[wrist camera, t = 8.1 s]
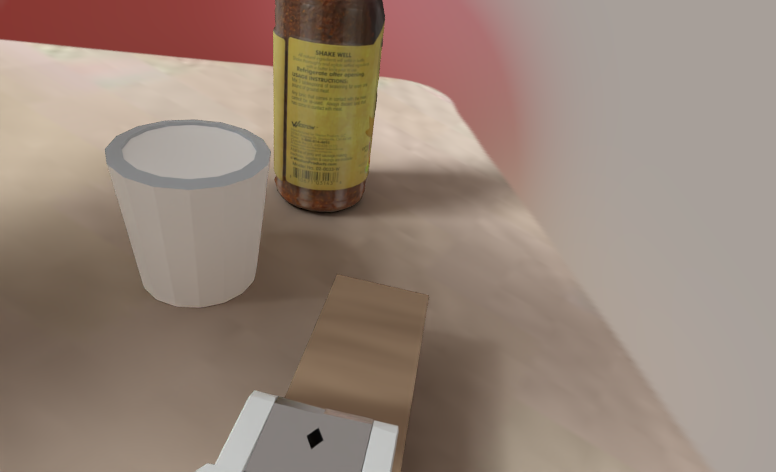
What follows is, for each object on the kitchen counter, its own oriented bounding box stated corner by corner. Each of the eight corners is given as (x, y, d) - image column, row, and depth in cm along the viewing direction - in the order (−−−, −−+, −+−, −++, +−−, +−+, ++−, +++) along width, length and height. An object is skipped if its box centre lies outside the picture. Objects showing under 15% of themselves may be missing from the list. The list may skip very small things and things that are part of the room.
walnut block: (373, 638, 11) (429, 295, 21) (202, 591, 11) (337, 274, 21) (353, 692, 13) (412, 359, 23) (210, 652, 14) (329, 339, 24)
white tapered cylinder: (235, 221, 30) (232, 110, 26) (292, 288, 26) (299, 168, 22) (110, 252, 26) (84, 127, 22) (154, 337, 22) (133, 202, 18)
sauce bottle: (382, 200, 35) (443, -160, 24) (312, 228, 31) (345, -191, 20) (322, 161, 38) (350, -170, 27) (251, 182, 34) (249, -198, 23)
